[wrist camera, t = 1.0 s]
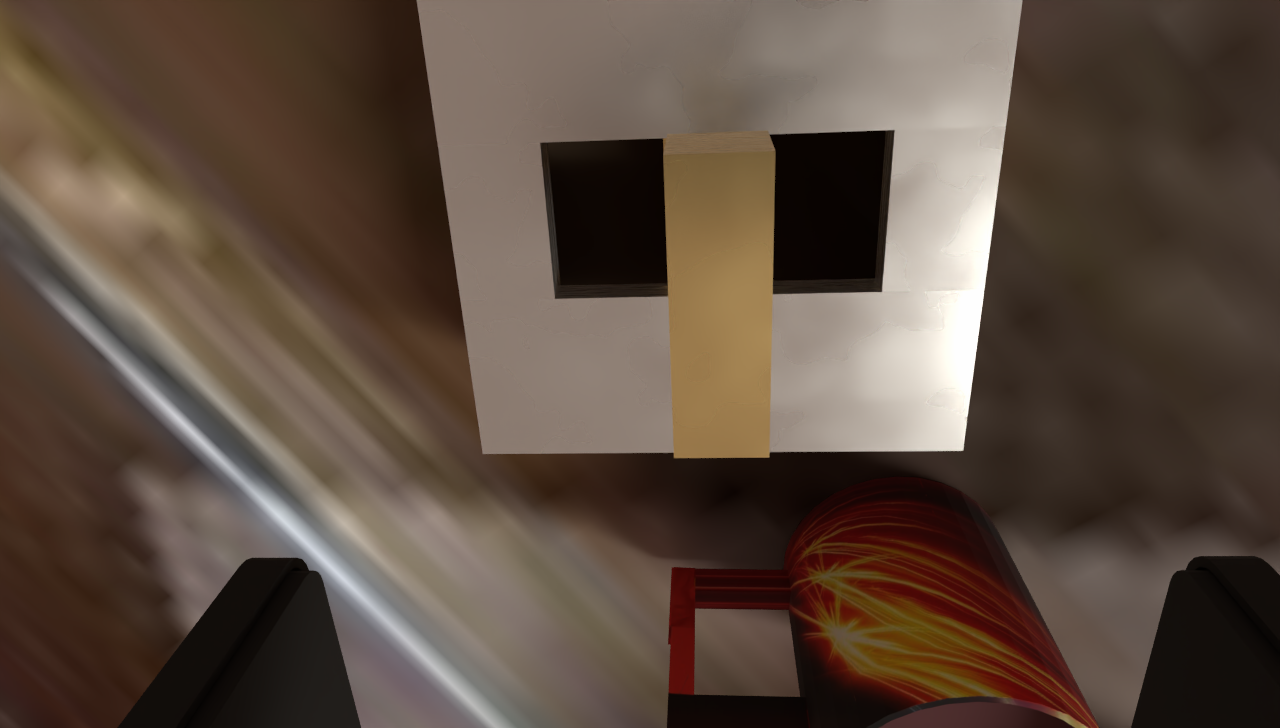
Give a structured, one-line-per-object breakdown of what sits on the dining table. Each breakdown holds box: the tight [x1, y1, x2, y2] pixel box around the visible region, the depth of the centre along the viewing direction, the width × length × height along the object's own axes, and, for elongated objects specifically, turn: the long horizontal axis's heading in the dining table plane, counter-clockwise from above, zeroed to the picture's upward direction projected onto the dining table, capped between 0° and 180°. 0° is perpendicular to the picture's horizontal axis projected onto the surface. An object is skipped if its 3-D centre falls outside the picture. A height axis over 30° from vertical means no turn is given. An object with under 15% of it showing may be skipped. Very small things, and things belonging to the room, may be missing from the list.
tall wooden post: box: [663, 131, 775, 458], centre depth 25 cm, size 3×8×14 cm, turn 3°
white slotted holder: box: [417, 0, 1022, 454], centre depth 28 cm, size 16×16×7 cm
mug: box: [667, 477, 1099, 728], centre depth 34 cm, size 10×14×12 cm
